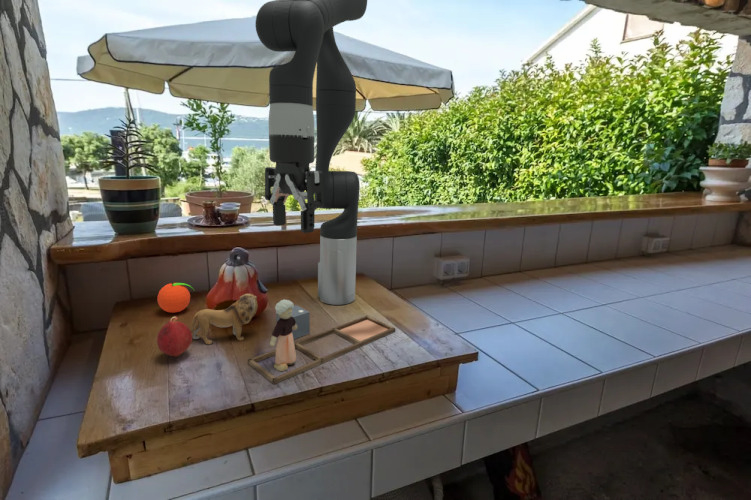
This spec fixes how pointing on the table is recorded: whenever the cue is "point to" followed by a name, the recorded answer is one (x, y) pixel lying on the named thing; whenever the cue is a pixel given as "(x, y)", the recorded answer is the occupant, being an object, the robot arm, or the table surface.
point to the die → (299, 321)
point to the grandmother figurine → (284, 336)
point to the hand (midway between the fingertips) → (293, 228)
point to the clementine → (174, 297)
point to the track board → (354, 332)
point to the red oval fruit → (174, 337)
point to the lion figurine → (226, 317)
